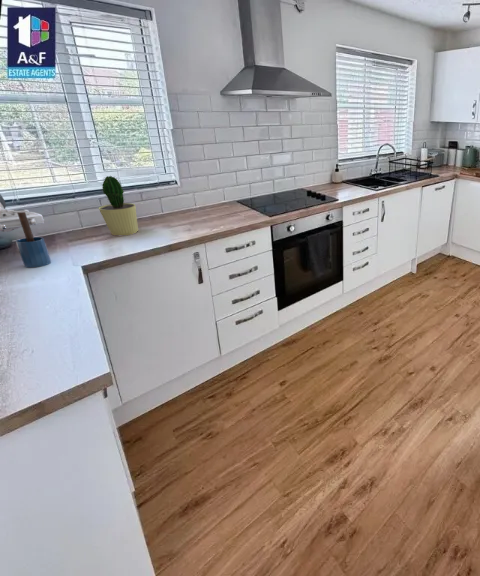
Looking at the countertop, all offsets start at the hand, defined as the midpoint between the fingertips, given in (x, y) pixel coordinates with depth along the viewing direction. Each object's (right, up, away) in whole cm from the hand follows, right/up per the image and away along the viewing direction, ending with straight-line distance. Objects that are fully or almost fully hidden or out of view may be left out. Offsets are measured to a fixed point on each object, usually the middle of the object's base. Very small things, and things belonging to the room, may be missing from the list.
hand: (19, 224), depth 143 cm
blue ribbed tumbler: (+4, -15, +3) cm, 16 cm away
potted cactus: (+8, +3, +47) cm, 48 cm away
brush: (+4, -14, +3) cm, 15 cm away
